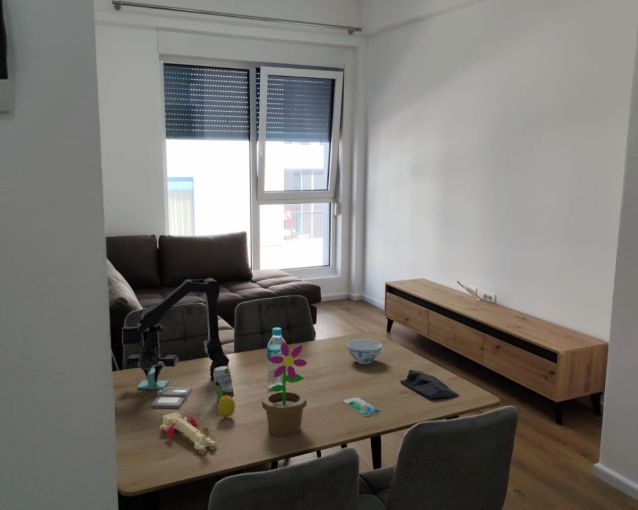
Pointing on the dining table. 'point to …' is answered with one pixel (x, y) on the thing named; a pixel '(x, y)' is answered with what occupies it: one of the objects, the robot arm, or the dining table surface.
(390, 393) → the dining table surface
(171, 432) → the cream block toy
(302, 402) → the flowerpot
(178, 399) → the plate
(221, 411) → the lemon
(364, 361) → the chinaware
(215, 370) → the beverage can
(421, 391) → the dark grey cloth
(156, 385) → the stub
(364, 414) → the smartphone
